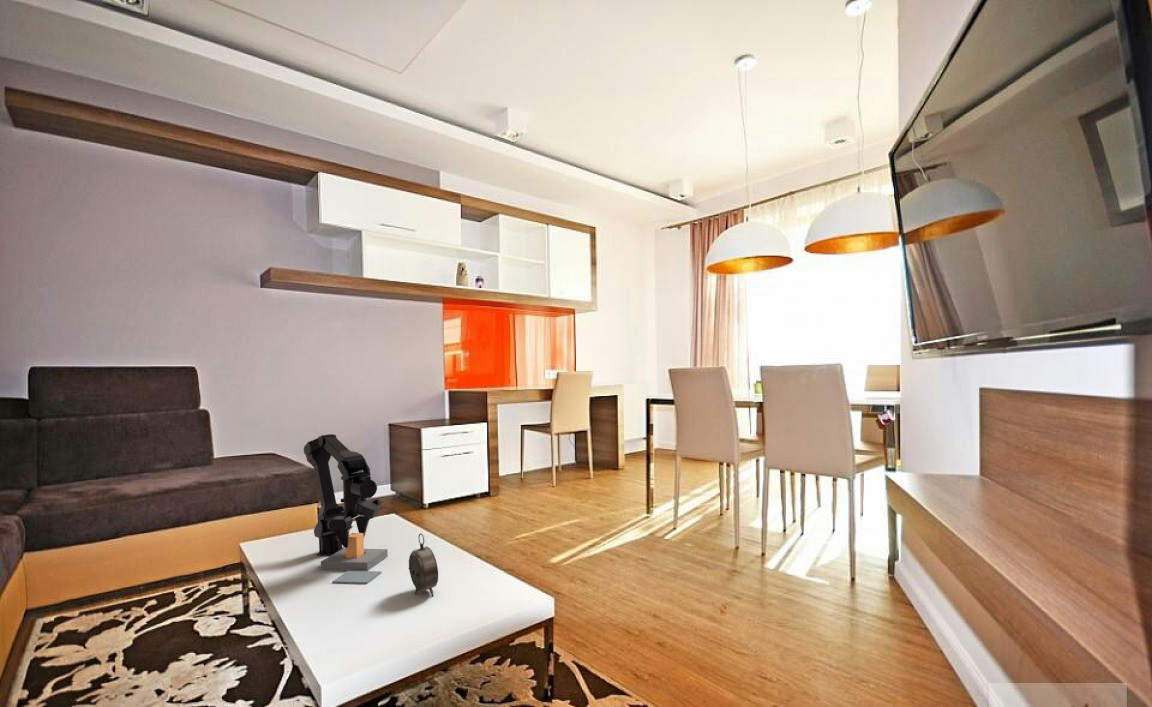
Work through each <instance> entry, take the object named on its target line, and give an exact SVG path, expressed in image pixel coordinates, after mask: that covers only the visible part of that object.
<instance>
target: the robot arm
mask: <svg viewBox="0 0 1152 707" xmlns="http://www.w3.org/2000/svg"><path fill="white" fill-rule="evenodd" d="M303 454H304V455H305V457H306V461H307V462H308V463H309V464H310V465H311V466H312V467H313V470H314V471H313V472H314V476H315V480H316V486H317V492H318V496H319V504H320V510H319V512H318V515H317V523H316V525H315V527H314V528H313V535H314V537H315V538H318V549H319V551H318V552H316V553H315V555H316V556H331V555H333V554H335V553H336V552H338V551H340V550H341V549H343V548H347V547H348V540H349V535H350V531H351V529H352V528H353V527H354V526H353V525H352V524H353V520H355V523H356V527H357V531H358V533H363V535H364V537H365V536H366V533H367V529H368V526H369V522H370V520H372V519H374V518H375V517H378V515H379V512H380V511H381V510H383V507H382V501H381V499H379V498H376V499H374V500H373V501H372V500H370V501H369V500H367V499H371V498H373V497H374V496H375V495H376V493H377V491H378V485H377V483H376V482H375V481H374V480H373V479H372V477H371V468H370V467H369V465H368V463H367V460H366V459H365V457H364V456H363V454H361V453H359V452H358V451H357V452H356V451H354V450H350V449H349V448H348V447H347V446H345V445H344V444H343V442H341V440H339V439H338V437H337V435H336V434H335V433H330V434H322V435H320V436H318V437H317V438H314V439H313V440H310V441H307V443H306V444H305V445H304V446H303ZM331 458H333V459H334V460H335V461H336V462H337V469H338V471H339V473H340V474H341V476H340V480H342V483H343V484H342V492H343V494H342V495H343V498H340V503H343V506H342V505H339V504H338V503H337V501H336V495H335V489H334V485H333V479H332V475H331V469H330V465H329V462H330V459H331Z"/></svg>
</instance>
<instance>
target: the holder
mask: <svg viewBox="0 0 1152 707" xmlns="http://www.w3.org/2000/svg"><path fill="white" fill-rule="evenodd" d="M388 554H389V553H388V548H364V555H362V556H360V557H359V558H346V556H345V548H343V549H341V550H340V551H338V552H336V553H335V554H333V555H328V557H325V559H323V560H320V570H321V571H322V570H325V571H370V569H371V570H372V568H373V567H375V566H376V565H378V564H380V563H381V562H383V559H384V560H385V559H386V558H388Z"/></svg>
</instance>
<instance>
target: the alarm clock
mask: <svg viewBox="0 0 1152 707" xmlns="http://www.w3.org/2000/svg"><path fill="white" fill-rule="evenodd" d="M421 536H422V540H423V541H422V543H421V540H420V537H421ZM418 543H419V546H420V547H419V548H416V549H414V550H412V552H411V553H410V555H409V557H408V558H409V559H408V571H409V575H410V579H411V581H412V584H413V586H414V588H415V591H414V595H417V592H418V591H420V592H424V591H427V590H429V593H430V596H431V597H434V590H433V588H435V587H436V586H437V585H438V582H439V567H438V563H437V559H436V557H435V554H434V552H433V550H432V549H431V548H430V547H429V546H424V544H425V536H424V534H423V533H419V534H418Z"/></svg>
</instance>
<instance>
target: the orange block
mask: <svg viewBox="0 0 1152 707" xmlns="http://www.w3.org/2000/svg"><path fill="white" fill-rule="evenodd" d="M364 538H365V536H364V535H363V533H359V532H352V533H349V540H348V547H347V548H345V556H346V558H359V557H360V556H362V555H364V549H365V542H364V541H365V539H364Z"/></svg>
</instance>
